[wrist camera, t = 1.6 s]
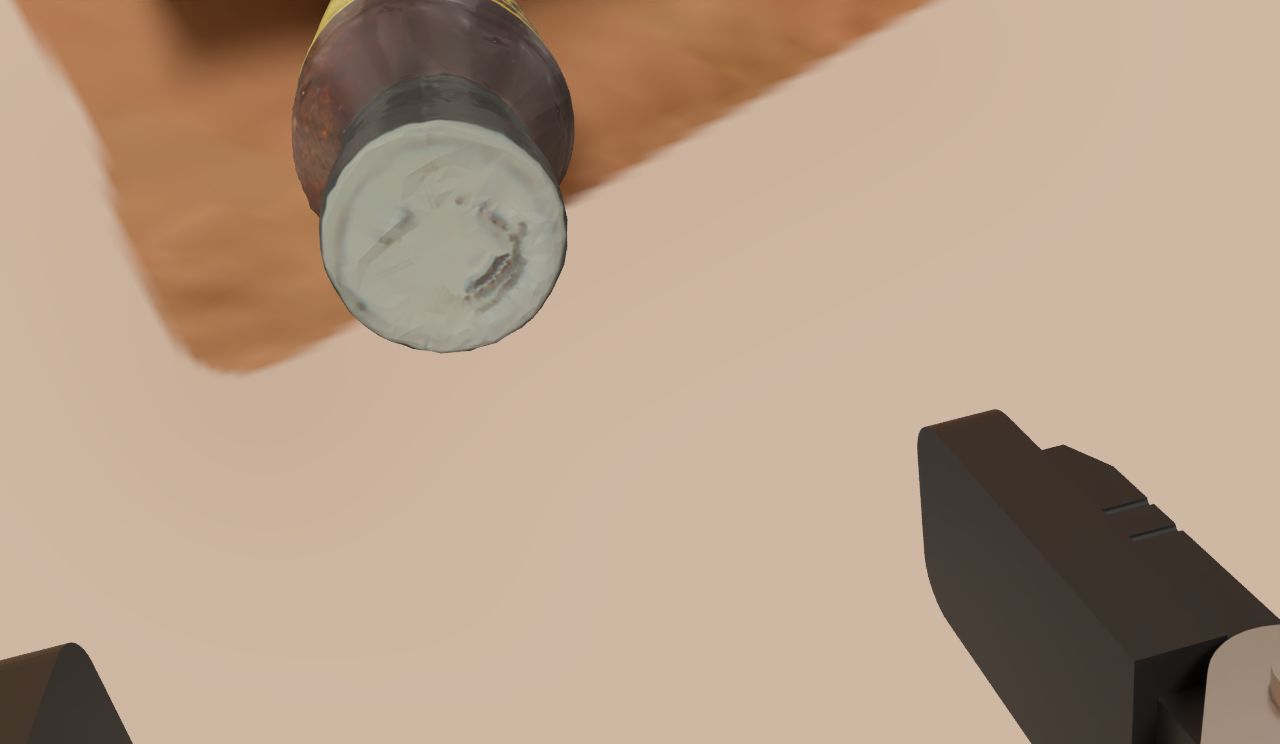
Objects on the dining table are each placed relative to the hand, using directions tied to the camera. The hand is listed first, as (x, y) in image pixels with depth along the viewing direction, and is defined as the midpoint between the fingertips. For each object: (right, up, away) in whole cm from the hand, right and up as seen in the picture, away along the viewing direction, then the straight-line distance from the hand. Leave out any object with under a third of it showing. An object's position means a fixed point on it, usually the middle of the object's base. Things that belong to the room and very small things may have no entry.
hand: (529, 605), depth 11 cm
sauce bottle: (-6, +13, +26) cm, 29 cm away
